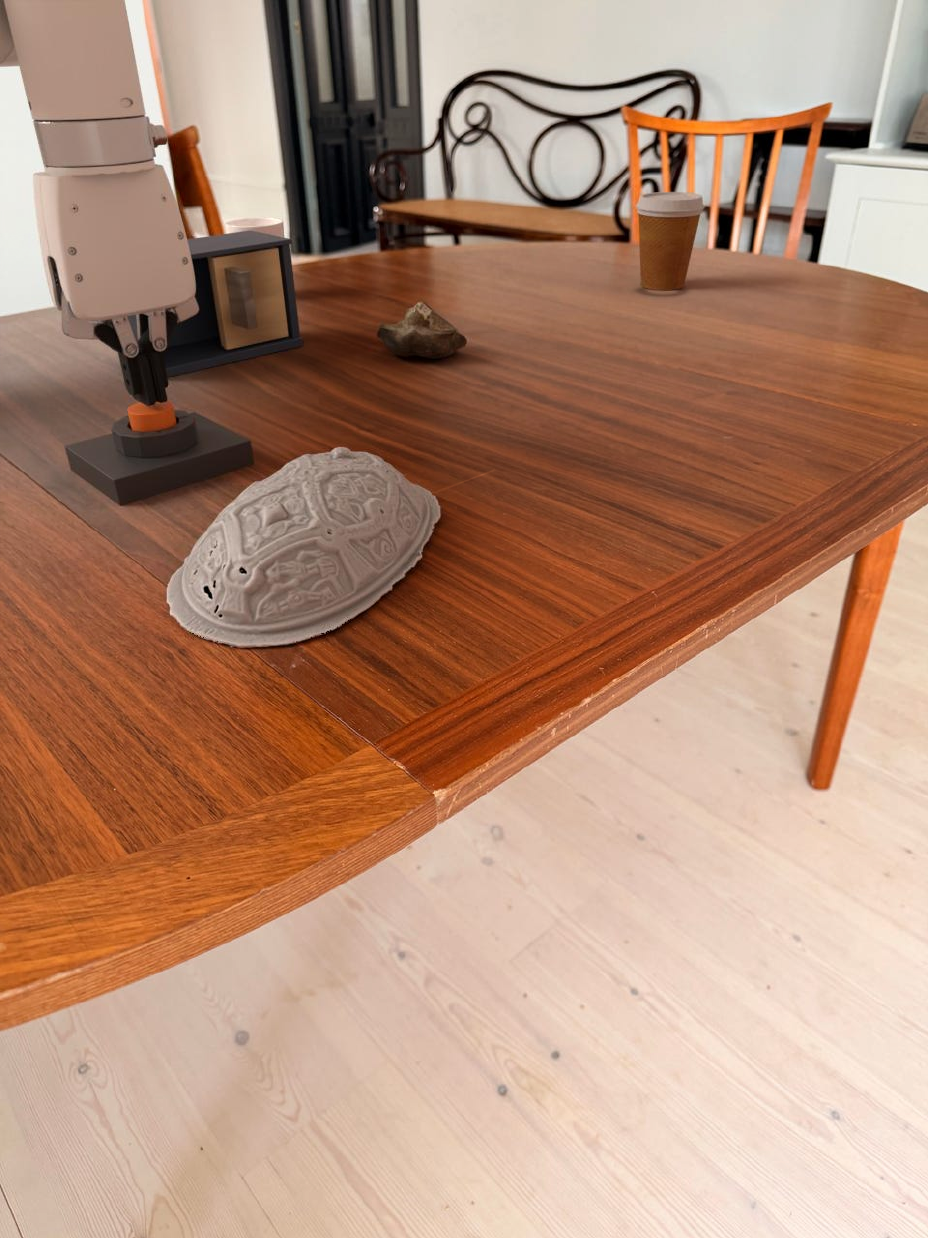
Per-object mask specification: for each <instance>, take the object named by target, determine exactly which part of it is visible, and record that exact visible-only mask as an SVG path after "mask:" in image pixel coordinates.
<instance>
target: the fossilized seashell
mask: <svg viewBox="0 0 928 1238" xmlns="http://www.w3.org/2000/svg"><path fill="white" fill-rule="evenodd" d="M378 327H379V328H378V330H377V333H376V337H377V338H378V339H379V340H381V341H382V343H383V345H384V346H385V347H386V349H387V350H389V351H390V352H391V353H393V354H394V355H395V356H400V357H407V358H408V357H413V356H418V357H422V358H425V359H426V358H427V359H429V360H430V359H433V360H438V359H439V360H440V359H441V358H447V357H450V356H452V355H454V353H457V352H458V351H459V350H461V349H463V348H464V347H466V345H467V344H468V340H467V338H466V337H465V336H464V334H462V333H461V331H460V330H458V329H457V328H456V327H455V326H454V324H453V325H452V323H450V322H449V321H448V320H446V318H444V317H443V316H441V315H440V314H438V313H437V312H435V310H434V309H433V308H432V307H431V306H430V305H429V304H428V303H427V302H426V301H423V300H422V301H418V302H417V303H416V304H415V305H413V307H409V308H407V309H406V311H405V316H404V318H403V319H401V320H400V321H397V322H396V323H394V324H393V323H383V322H380V323H379V324H378Z"/></svg>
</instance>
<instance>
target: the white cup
mask: <svg viewBox="0 0 928 1238" xmlns="http://www.w3.org/2000/svg"><path fill="white" fill-rule="evenodd" d="M225 229H226V234H228V233H235V232H242V231H249V230H251V231H256V232H261V233H265V234H270V235H274V236H279V237H283V238H285V227H284V220H283V219H280V218H275V217H247V218H239V219H233V220H230V221H227V222H225Z"/></svg>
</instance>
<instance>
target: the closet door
mask: <svg viewBox="0 0 928 1238" xmlns="http://www.w3.org/2000/svg"><path fill="white" fill-rule="evenodd" d="M210 262H211V268H212V274H213V281H214V287H215V293H216V299H217V306H218V312H219V318H220V325H221V331H222V337H223V344H224V349H227V350H230V349H234V348H239V347H243V346H248V345H252V344H257V343H261V342H265V341H270V340H274V339H279V338H283V337H288V336H289V335H288V326H287V318H286V310H285V301H284V293H283V285H282V276H281V268H280V260H279V251H278V248H276V247H272V248H266V249H259V250H253V251H246V252H240V253H234V254H227V255H221V256H215V257H210Z"/></svg>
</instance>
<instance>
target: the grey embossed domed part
mask: <svg viewBox="0 0 928 1238" xmlns="http://www.w3.org/2000/svg"><path fill="white" fill-rule="evenodd" d="M441 515H442V514H441V506H440V505H439V500H438V499H437V497H436V495H434V494H433V493H432V492H431V491H430V490H429V489H426V488H424V487H422V486H421V485H418V484H414V483H413V482H410V481H409V480H408V479H407V478H406V477H405V476H404V474H403V473H401V472H400V471H399V470H397V469H396V468H395V467H394V466H393V465H392V464H390V463H389V462H387V461H384V459H383V458H382V457H380V456H379V455H377V454H373V453H369V452H368V451H351V450H350V449H349V448H348V447H345V446H338V447H334V448H333V449H332V450H331V451H327V452H321V453H320V452H319V453H316V454H315V453H313V454H311V453H305V454H302V455H301V456H299V457H297V458H295V459H292V460H291V461H289V462H287V463H285V464H284V465H283V466H282V468H280V469H279V470H277V471H276V472H274V473H272V474H271V475H269V476H268V477H266V478H263V479H262V480H260V481H257V480H256V481H254V482H253V483H251V484H250V485H249V486H247V487H246V488H245V489H244V490H243V491H242V492H241V493H240V494H238V496H237V497H236V498H235V499H234V500H232V501H231V502H229V504H228V505H226V507H224V508H223V509H222V510H221V511H220V512H219V514H218V515H217V516H216V518H215V519H214V521H212V523H211V524H210V525H209V526H208V527H207V529H206V530H205V531H204V532H203V533H202V535H201V536H200V537H199V538H198V540H197V541H196V542H195V544H194V545H193V547H192V549H191V551H190V554H189V555H188V556H187V557H185V558H184V562H183V564H182V565H181V566H180V567H178V569H176V571H175V572H174V573H173V574H172V576H171V577H170V580H169V582H168V584H167V588H166V604H168V606H169V615H170V617H173V618H174V619H175V620H176V622H177V623H179V626H180V627H182V628H183V629H185V630H186V631H187V632H188V631H189V632H188V633H190V632H191V633H190V634H192V633H194V634H193V635H195V636H197V635H198V636H197V637H199V638H202V639H204V640H206V641H213V643H215V642H216V643H217V644H225V645H228V646H230V648H233V647H236V648H238V649H244V648H268V647H277V646H288V645H293V644H297V643H300V642H302V641H306V640H309V639H312V638H315V637H319V636H322V635H325V634H327V633H328V632H327V631H329V632H331V631H334V630H336V629H338V628H340V627H342V626H343V625H344V624H346V623H347V622H349V621H350V619H351V620H352V619H354V618H355V617H357V616H358V615H359V614H361V613H363V612H365V611H366V610H369V608H371V607H372V606H373V605H375V603H376V602H378V601H379V600H380V599H381V597H382V596H384V595H385V594H387V593H389V591H392V590H393V585H395V584H396V583H398V582H399V581H400V580H402V579H404V578H405V577H406V573H407V572H409V571H410V570H411V568H414V567H415V566H416V565H417V562H418V561H420V560H421V559H422V558H423V554H422V553H423V552H424V551H423V549H424V547H425V545H426V544H428V541H430V538H431V536H432V534H433V533H434V529H435V524H437V523H438V522H439V520H440V519H441ZM241 568H242V569H244V571H246V573H241V572H243V570H241ZM214 585H215V587H214ZM205 587H208V590H209V592H210V593H211V597H212V598H210V597H209V594H208V593H206V592H205V589H204V588H205ZM217 606H218V607H217ZM216 609H217V611H216ZM215 611H216V612H215ZM220 615H222V616H221V617H220ZM348 620H349V621H348ZM345 622H346V623H345ZM342 624H343V625H342ZM337 627H338V628H337ZM330 630H331V631H330ZM326 632H327V633H326ZM321 633H324V634H321ZM315 635H316V636H315ZM200 636H201V637H200ZM203 637H204V638H203ZM311 637H312V638H311ZM217 641H218V642H217ZM293 641H294V642H293ZM296 641H297V642H296Z"/></svg>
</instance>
